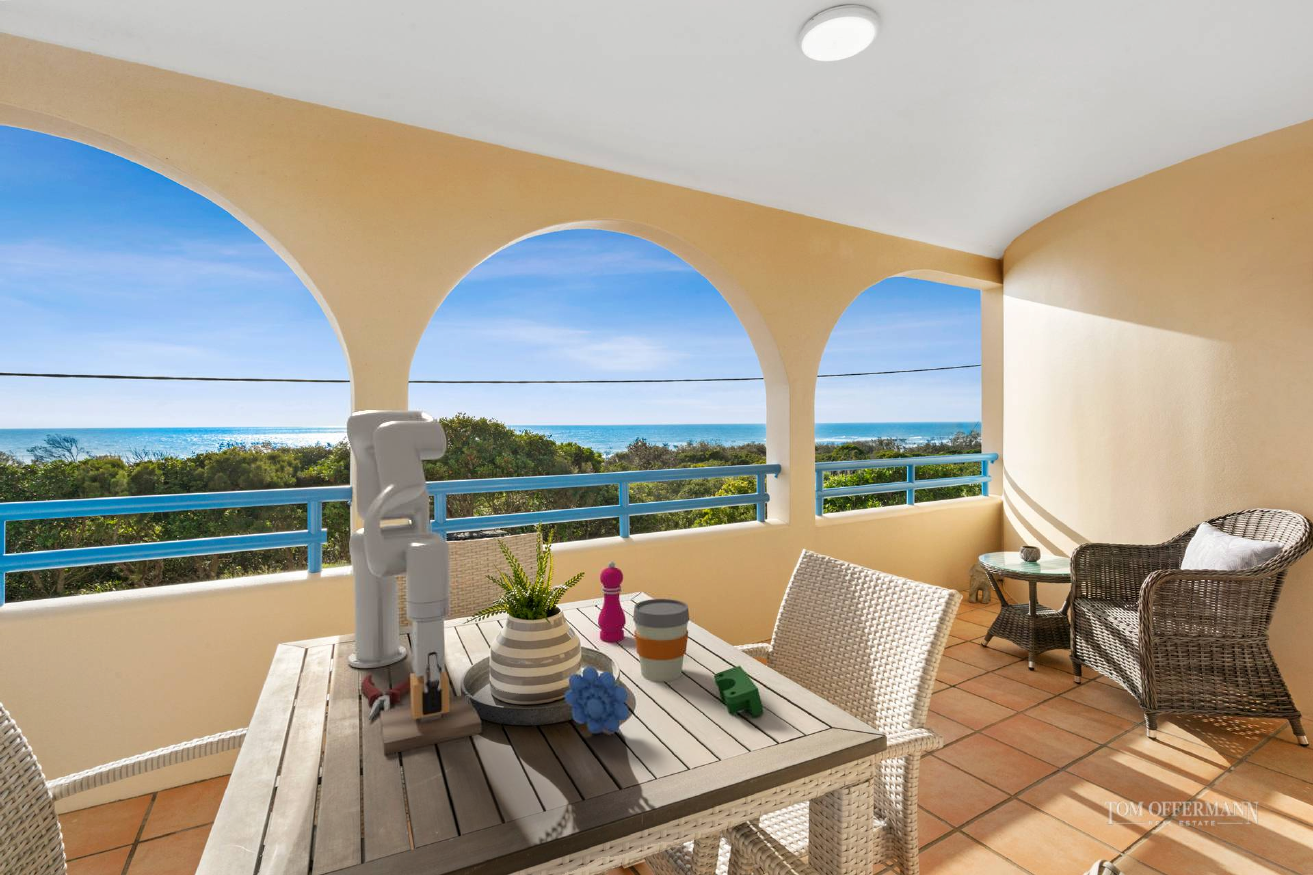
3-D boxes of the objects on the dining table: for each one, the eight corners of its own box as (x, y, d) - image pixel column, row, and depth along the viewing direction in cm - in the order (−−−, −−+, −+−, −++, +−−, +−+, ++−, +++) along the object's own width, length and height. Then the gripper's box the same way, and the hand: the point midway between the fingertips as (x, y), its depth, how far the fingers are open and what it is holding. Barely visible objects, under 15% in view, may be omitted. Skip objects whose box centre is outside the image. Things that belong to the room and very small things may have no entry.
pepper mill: (601, 632, 163) (601, 558, 163) (628, 633, 162) (627, 558, 162) (595, 642, 156) (594, 564, 156) (622, 643, 155) (622, 565, 155)
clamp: (725, 720, 124) (711, 674, 127) (753, 711, 125) (738, 665, 128) (736, 725, 112) (720, 674, 115) (766, 714, 113) (749, 664, 116)
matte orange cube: (410, 705, 114) (410, 673, 113) (444, 698, 116) (444, 667, 116) (413, 719, 108) (413, 685, 108) (449, 711, 111) (448, 678, 111)
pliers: (343, 728, 113) (343, 714, 113) (364, 684, 132) (364, 672, 132) (410, 720, 116) (410, 706, 116) (421, 678, 136) (420, 666, 136)
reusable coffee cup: (690, 663, 142) (690, 599, 142) (688, 686, 130) (688, 615, 129) (637, 661, 143) (636, 597, 143) (629, 683, 131) (629, 614, 131)
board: (380, 721, 115) (380, 687, 114) (468, 703, 122) (468, 671, 122) (384, 754, 103) (383, 716, 103) (481, 732, 110) (481, 697, 110)
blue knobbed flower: (559, 744, 106) (559, 676, 106) (567, 725, 113) (567, 661, 112) (626, 746, 105) (626, 677, 105) (630, 727, 112) (630, 662, 112)
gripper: (402, 598, 118) (403, 691, 118) (411, 623, 103) (412, 730, 103) (443, 593, 121) (444, 683, 122) (457, 617, 106) (458, 720, 106)
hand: (429, 704), depth 112 cm, fingers closed on matte orange cube, 6 cm apart
